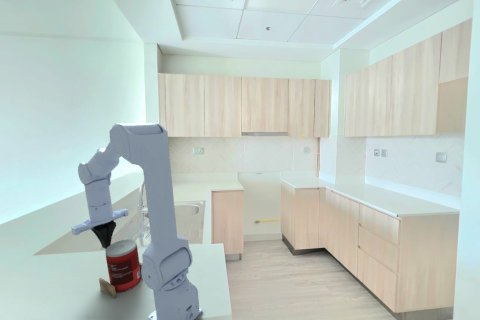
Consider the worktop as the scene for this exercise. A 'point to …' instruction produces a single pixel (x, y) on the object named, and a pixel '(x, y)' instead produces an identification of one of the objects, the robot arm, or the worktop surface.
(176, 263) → the robot arm
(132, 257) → the canned food
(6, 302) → the worktop surface
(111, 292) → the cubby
